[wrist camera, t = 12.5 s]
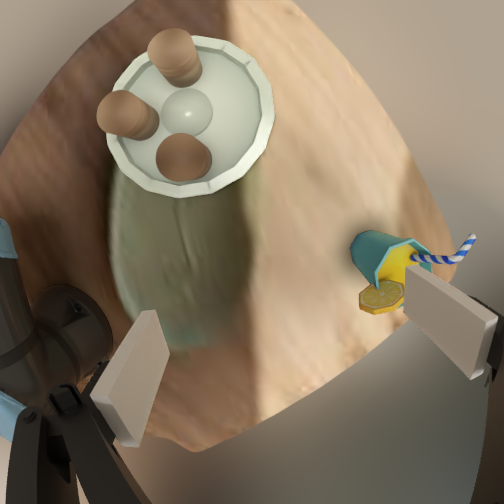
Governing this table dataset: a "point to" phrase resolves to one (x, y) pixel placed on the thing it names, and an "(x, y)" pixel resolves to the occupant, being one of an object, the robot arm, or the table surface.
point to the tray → (200, 118)
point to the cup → (392, 267)
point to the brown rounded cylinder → (127, 116)
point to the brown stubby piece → (183, 158)
